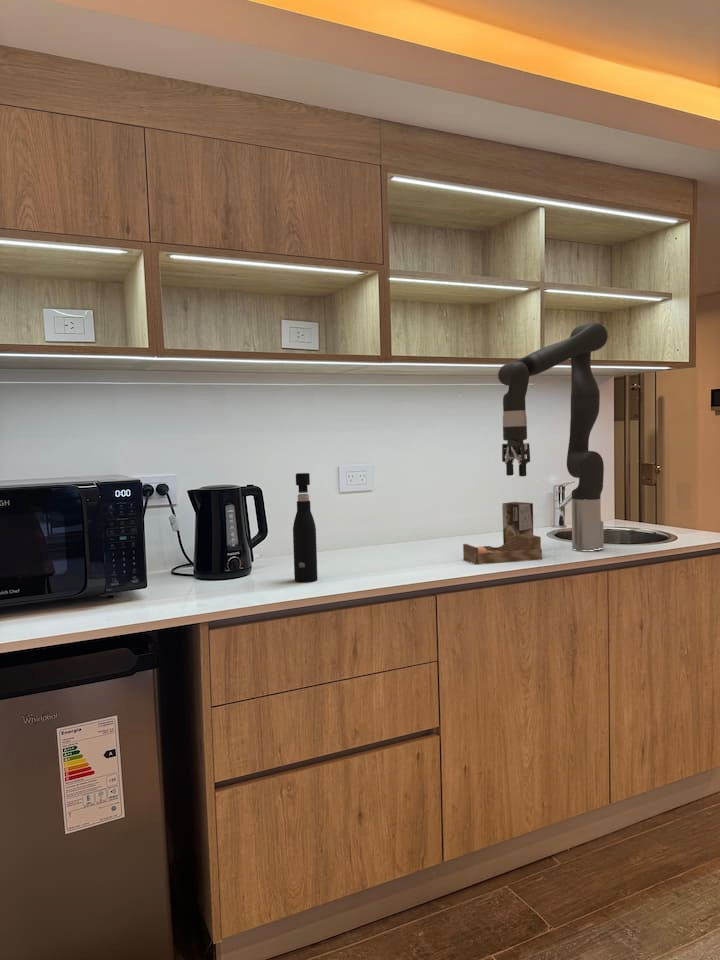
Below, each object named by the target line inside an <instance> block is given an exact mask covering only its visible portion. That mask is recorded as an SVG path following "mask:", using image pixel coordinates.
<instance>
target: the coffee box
mask: <svg viewBox="0 0 720 960" xmlns="http://www.w3.org/2000/svg"><path fill="white" fill-rule="evenodd" d="M501 505H502V539H503V540H502V541H503V544H502V545H504V543H507V541H510V540H512V538H515V536H517V535H518V534H531V535H534V503H533V502H523V501H511V502H502V503H501Z"/></svg>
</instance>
